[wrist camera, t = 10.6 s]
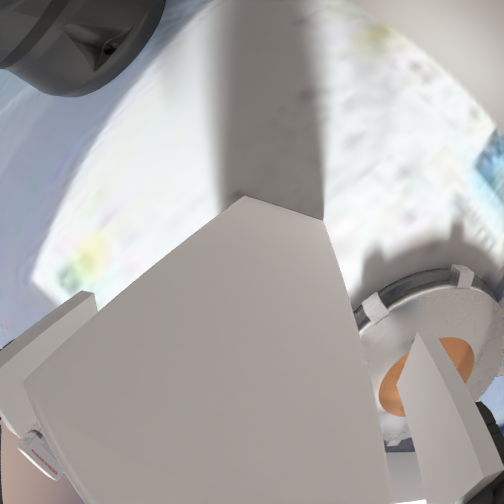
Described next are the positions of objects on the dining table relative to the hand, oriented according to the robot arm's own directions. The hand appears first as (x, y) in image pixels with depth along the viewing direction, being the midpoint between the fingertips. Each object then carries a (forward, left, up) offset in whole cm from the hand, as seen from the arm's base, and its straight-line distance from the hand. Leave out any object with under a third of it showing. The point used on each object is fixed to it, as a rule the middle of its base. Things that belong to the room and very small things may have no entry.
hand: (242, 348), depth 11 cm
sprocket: (+10, +15, -11) cm, 21 cm away
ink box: (+39, -36, -12) cm, 54 cm away
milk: (0, 0, -12) cm, 12 cm away
